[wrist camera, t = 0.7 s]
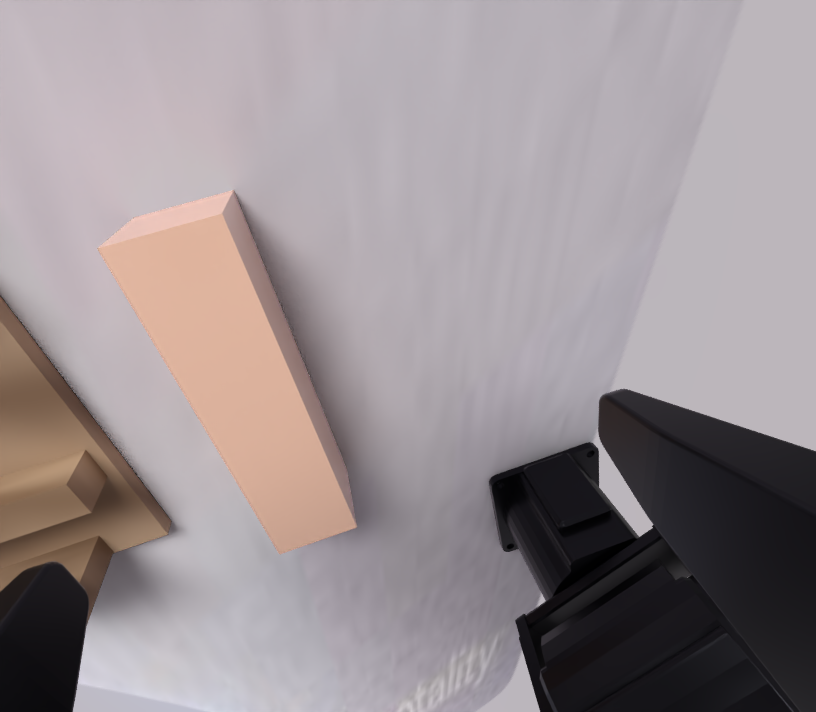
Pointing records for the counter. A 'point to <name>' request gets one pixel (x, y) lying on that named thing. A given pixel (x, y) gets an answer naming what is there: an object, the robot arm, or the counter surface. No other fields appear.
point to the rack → (61, 474)
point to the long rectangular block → (236, 362)
